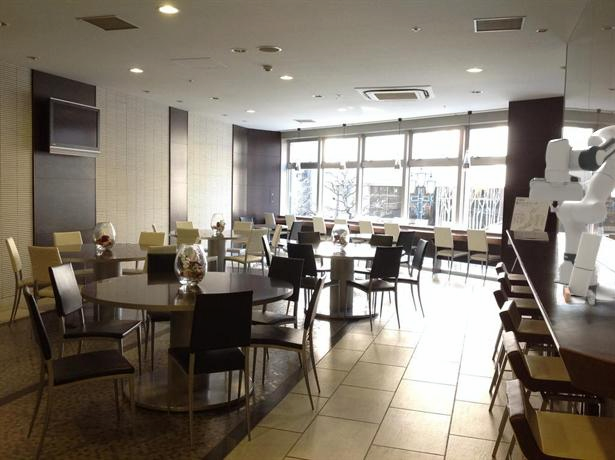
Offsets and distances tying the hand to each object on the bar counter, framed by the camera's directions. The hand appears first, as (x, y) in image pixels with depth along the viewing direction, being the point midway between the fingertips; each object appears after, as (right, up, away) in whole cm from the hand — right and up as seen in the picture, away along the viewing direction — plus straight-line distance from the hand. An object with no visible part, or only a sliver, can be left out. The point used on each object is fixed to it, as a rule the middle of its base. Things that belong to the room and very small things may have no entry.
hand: (554, 212), depth 221 cm
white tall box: (+7, -34, -4) cm, 34 cm away
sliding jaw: (0, -34, -11) cm, 35 cm away
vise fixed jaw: (+6, -35, -17) cm, 39 cm away
